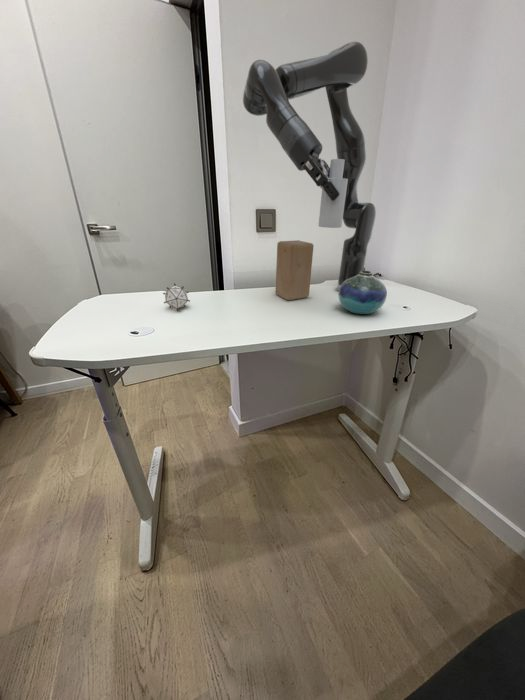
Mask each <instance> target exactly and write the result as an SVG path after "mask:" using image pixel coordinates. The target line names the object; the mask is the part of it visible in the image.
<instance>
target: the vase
mask: <svg viewBox="0 0 525 700" xmlns="http://www.w3.org/2000/svg"><path fill="white" fill-rule="evenodd" d="M373 275H374V274H373V271H370V270H365V271H360V272H359V274H358V275H355V276H353V277H351V278H349V279H347V280H345V281H344V282H343V283H342V284H341V286H340V288H339V291H338V301H339V303H340V305H341V307H342V308H343V309H344V310H346V311H348V312H349V313H353V314H357V315H370V314H373V313H376V312H377V311H379V310H380V309H381V308H382V307H383V306H384V304H385V302H386V300H387V297H388V291H387V287H386V285H385V284H384V283H383V281H382V280H380V279H379V278H377V277H376V276H373Z"/></svg>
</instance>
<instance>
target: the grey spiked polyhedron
mask: <svg viewBox="0 0 525 700" xmlns="http://www.w3.org/2000/svg"><path fill="white" fill-rule="evenodd" d="M166 289H167V290H166V291H165V292H162V295H164V300H165V301H163V304H168V306H169V308H170V309H171V308H174V309H176V311H177V312H179V311H180V309H181V308H182V307H186V304H187V302H188V303H190V302H191V300H190V299H189V298H188V294H189V290H188V291H186V290H185V289H184V285H183V286H179V285H176V283H173V286H171V287H168V286H167V287H166Z"/></svg>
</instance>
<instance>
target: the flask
mask: <svg viewBox="0 0 525 700" xmlns="http://www.w3.org/2000/svg"><path fill="white" fill-rule="evenodd" d="M344 162H345V160H344V159H337V158H332V159H330V164H329V165H330V166H329V168H330V173H329V178H330V182H332V184H333V185H334V186H335V188H336V189H337V190H338V192H339V193H340V195H339V196H338V197H337V198H336V199H335V200H334V201H332V200H331V199H330V197H329V196H328V195H327V193H326V192H325V191H324V189H321V197H320V207H319V214H318V215H319V216H318V227H319V228H326V229H328V228H329V229H340V228H342V226H343V212H344V205H345V197H346V190H347V183H348V179H344V178H343V170H344ZM330 182H329V183H330Z"/></svg>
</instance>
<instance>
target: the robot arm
mask: <svg viewBox="0 0 525 700" xmlns="http://www.w3.org/2000/svg"><path fill="white" fill-rule="evenodd" d="M368 59H369V58H368V52H367V49H366V47H365V45H364V44H363V43H362V42H360V41H355V40H354V41H350V42H347V43H346V44H343V45H341V46H339V47H337V48H336V49H333V50H332V51H330V52H329V53H328V54H325V55H320V56H317V57H316V56H315V57H311V58H306V59H301V60H296V61H292V62H287V63H283V64H281V65H280V64H279V66H277V67H276V68H275V67H274V66H273V65H272V64H271V63H270V62H269V61H267V60H265V59H256V60H254V61H253V62H252V64H251V65H250V67H249V68H248V73H247V77H246V81H245V84H244V85H245V86H244V90H243V94H242V104H243V107H244V109H245V110H246V112H247V113H248V114H250V115H252V116H255V117H261V116H262V117H263V116H265V123H266V125H267V127H268V129H269V130H270V132H271V133H272V135H273V136H274V137H275V138H276V141H278V143H279V144H280V146H281V149H282V150H283V151H284V152H285V154H286V155H287V156H288V158H289V159H290V160H291V162H292V163H293V165H294V166H295V167H296V169H297V170H298V171H301V172H302V171H305V172H306V173H307V174H308V176H309V177H310V178H311V179H312V181H313V182H314V184H315V185H316V186H317V187H319V188H320V189H321V190H322V189H324V191H325V192H326V193H327V195H328V196H329V197H330V199H331V200H332V201H334V200H335V199H336V198H337V197H338V196H339V195H340V193H339V192H338V190H337V189H336V188H335V186H334V185H333V184H332V182H330V178H329V173H330V166H329V164H328V163H327V162H326V160H325V159H322V158H320V155H321V153H322V151H323V144H322V143H321V141H320V139H318V137H317V136H316V135H315V133H314V132H313V131H312V129H311V128H310V126H309V125H308V124H307V123H306V121H304V119H303V118H302V117H301V116H300V115H299V114H298V112H297V111H296V110H295V108H294V106H293V105H292V104H291V102H290V101H291V100H294V99H297V98H300V97H304V96H305V95H306V96H307V95H308V94H311V93H314V92H316V91H318V90H321V89H324V88H325V92H326V93H325V94H326V97H327V101H328V105H329V109H330V116H331V120H332V128H333V133H334V140H335V150H336V159H344V160H345V162H344V170H343V178H344V179H348V183H347V190H346V197H345V205H344V212H343V219H342V223H343V224H344V226H345V227H346V228H348V229H354V234H353V235H352V236H350V237H348V238H345V239H344V241H343V245H342V252H341V260H340V266H339V268H340V269H339V274H338V281H337V287H336V290H337V291H338V292H339V288H340V286H341V284H342V283H343V282H344V281H345V280H347V279H349V278H351V277H353V276H355V275H358V274H359V272H360V271H366V267H365V263H366V258H367V253H368V247H369V244H370V242H371V239H372V236H373V231H374V227H375V222H376V217H377V208H376V205H375V204H374V203H373V202H371V201H370V202H369V201H359V196H358V186H359V182H360V179H361V176H362V174H363V171H364V168H365V165H366V162H367V149H366V148H367V147H366V137H365V133H364V131H363V129H362V127H361V125H360V124H359V121H358V120H357V118H356V116H355V115H354V113H353V112H352V109H351V106H350V102H349V96H348V89H349V88H351V87H354V86H356V85H357V84H359V83H360V82H361V81H362V80H363V78H364V77H365V75H366V73H367V70H368V63H369V61H368ZM329 182H330V183H329ZM379 273H380V272H376V273H374V274H373V276H374V277H376V276H379V277H382V274H381V273H380V274H379Z"/></svg>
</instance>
